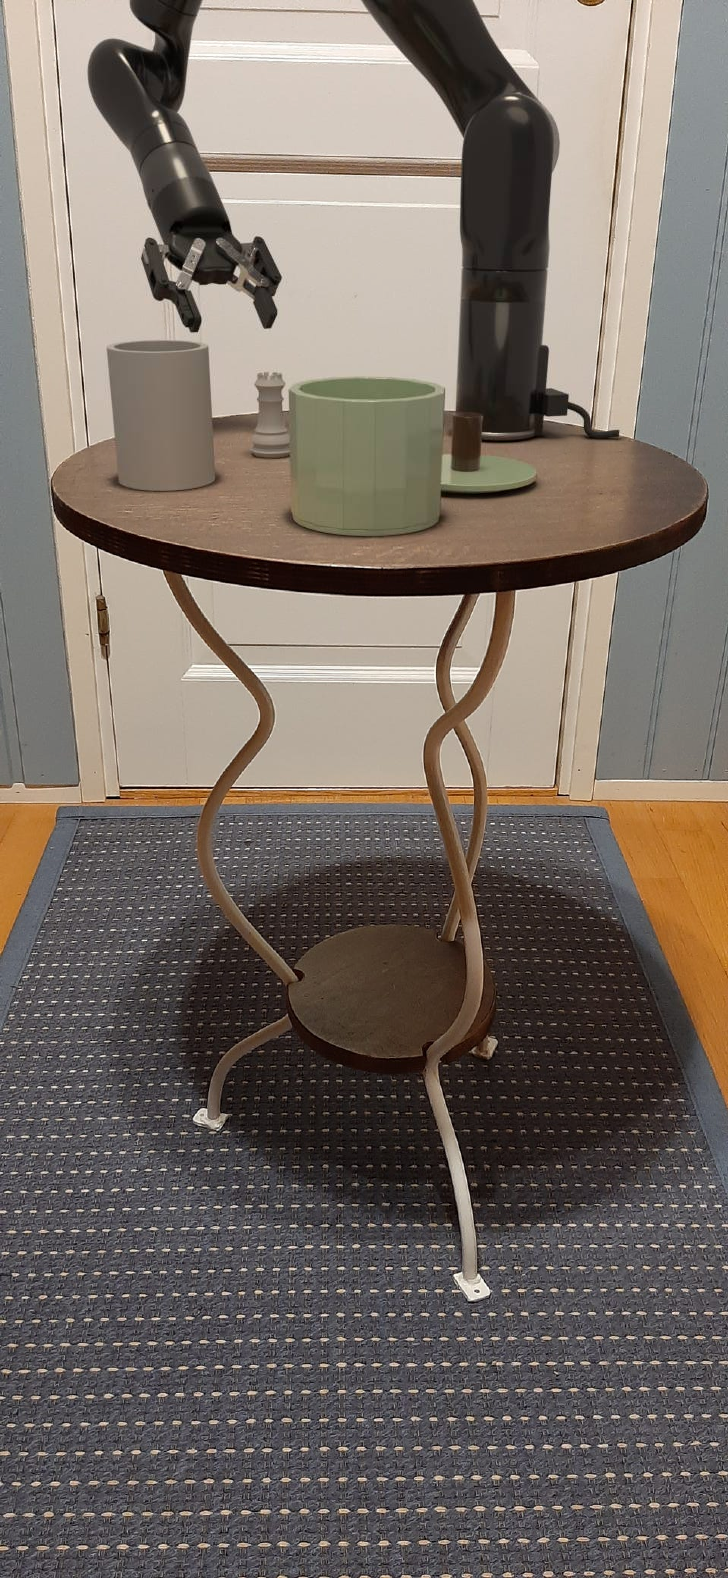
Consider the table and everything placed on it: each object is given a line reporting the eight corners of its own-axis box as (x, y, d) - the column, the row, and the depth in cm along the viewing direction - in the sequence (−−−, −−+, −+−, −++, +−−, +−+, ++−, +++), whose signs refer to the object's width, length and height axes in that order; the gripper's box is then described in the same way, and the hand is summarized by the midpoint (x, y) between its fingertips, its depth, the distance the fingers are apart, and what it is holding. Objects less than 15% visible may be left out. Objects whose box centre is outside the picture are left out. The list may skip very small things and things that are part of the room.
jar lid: (502, 462, 118) (505, 399, 115) (560, 493, 106) (566, 424, 103) (375, 470, 114) (376, 405, 111) (421, 502, 103) (424, 431, 100)
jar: (411, 494, 105) (414, 374, 100) (461, 530, 95) (468, 397, 90) (277, 503, 102) (274, 379, 97) (314, 541, 91) (312, 404, 87)
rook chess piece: (290, 449, 123) (288, 370, 119) (295, 457, 119) (294, 376, 115) (248, 450, 122) (245, 371, 119) (252, 459, 118) (249, 377, 115)
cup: (121, 492, 105) (108, 353, 99) (116, 471, 113) (104, 341, 107) (220, 488, 107) (213, 351, 101) (209, 467, 115) (202, 339, 109)
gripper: (128, 173, 118) (179, 303, 115) (253, 174, 125) (305, 297, 121) (115, 228, 124) (163, 353, 121) (234, 227, 131) (283, 345, 128)
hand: (234, 325), depth 121 cm, fingers open, 8 cm apart
